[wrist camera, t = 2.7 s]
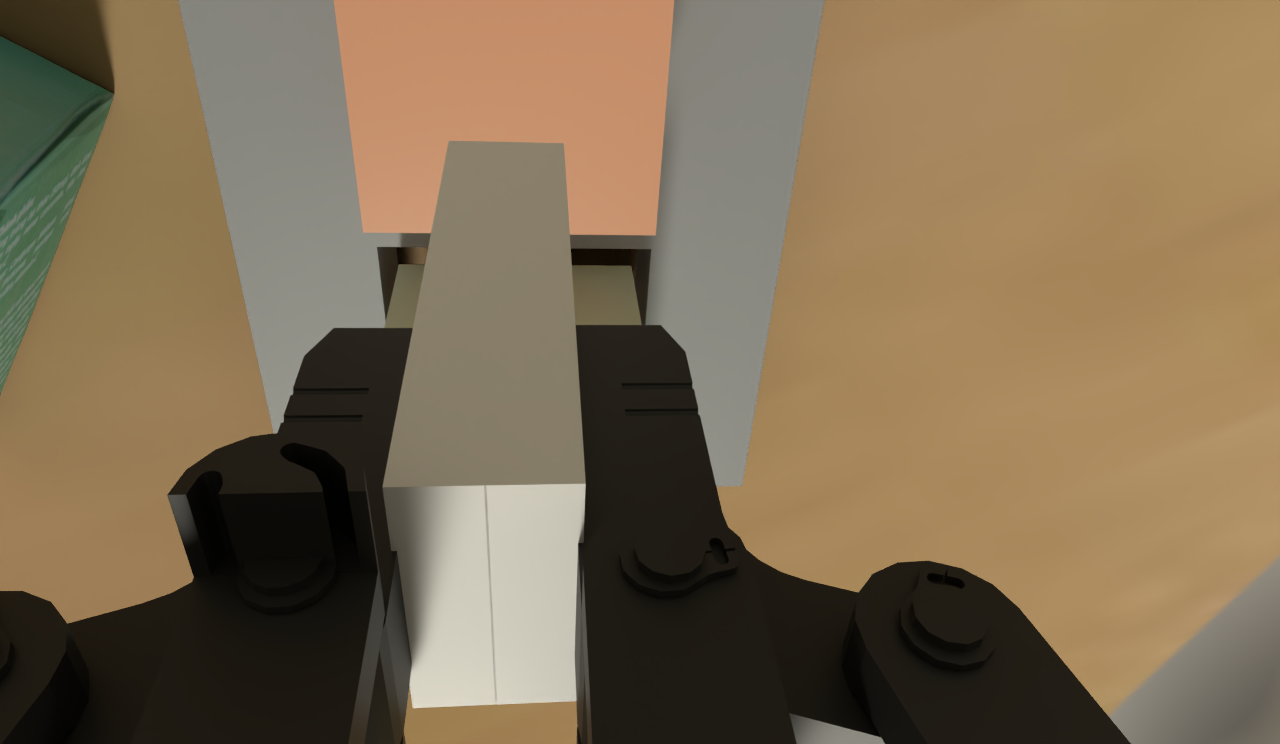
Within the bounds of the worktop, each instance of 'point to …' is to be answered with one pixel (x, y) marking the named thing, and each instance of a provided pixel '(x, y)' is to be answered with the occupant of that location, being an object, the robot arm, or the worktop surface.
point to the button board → (665, 264)
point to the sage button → (595, 288)
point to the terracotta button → (507, 99)
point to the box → (38, 175)
